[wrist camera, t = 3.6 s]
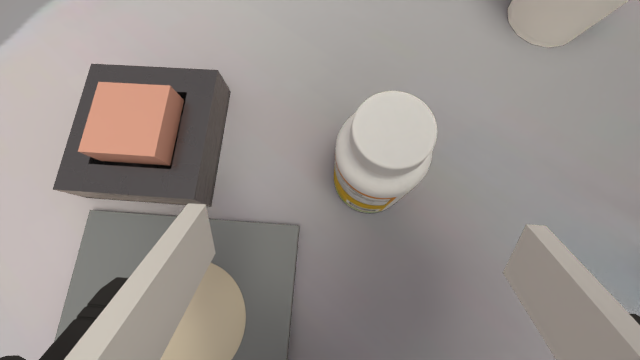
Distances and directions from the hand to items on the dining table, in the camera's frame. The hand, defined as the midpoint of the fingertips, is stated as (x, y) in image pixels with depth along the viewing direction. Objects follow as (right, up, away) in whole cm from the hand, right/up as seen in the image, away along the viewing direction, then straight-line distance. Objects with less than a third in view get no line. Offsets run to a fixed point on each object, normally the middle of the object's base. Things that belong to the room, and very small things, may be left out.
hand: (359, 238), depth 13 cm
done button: (-15, +6, +9) cm, 19 cm away
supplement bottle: (+2, +2, +11) cm, 11 cm away
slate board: (-12, -7, +8) cm, 16 cm away
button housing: (-15, +6, +12) cm, 20 cm away
